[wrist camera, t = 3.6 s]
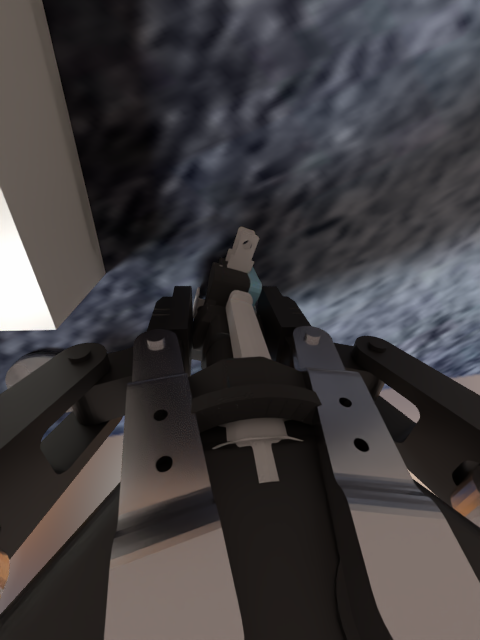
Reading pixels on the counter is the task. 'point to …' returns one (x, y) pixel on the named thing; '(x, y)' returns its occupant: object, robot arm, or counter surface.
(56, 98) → the bin
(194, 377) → the push button
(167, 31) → the counter surface
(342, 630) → the robot arm
